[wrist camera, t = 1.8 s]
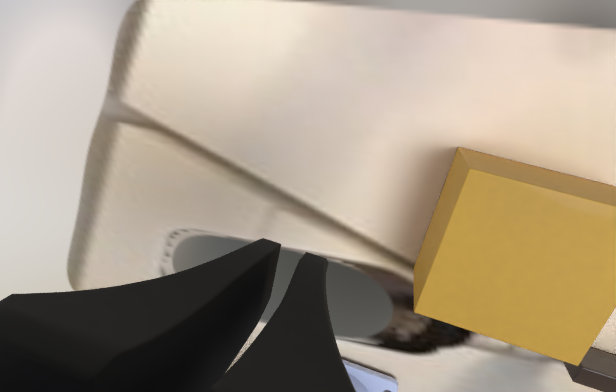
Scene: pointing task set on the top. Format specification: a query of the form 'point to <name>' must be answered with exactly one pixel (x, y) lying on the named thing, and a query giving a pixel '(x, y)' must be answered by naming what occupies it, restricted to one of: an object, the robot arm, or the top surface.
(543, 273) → the block
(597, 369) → the bay
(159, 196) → the top surface
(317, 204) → the top surface
